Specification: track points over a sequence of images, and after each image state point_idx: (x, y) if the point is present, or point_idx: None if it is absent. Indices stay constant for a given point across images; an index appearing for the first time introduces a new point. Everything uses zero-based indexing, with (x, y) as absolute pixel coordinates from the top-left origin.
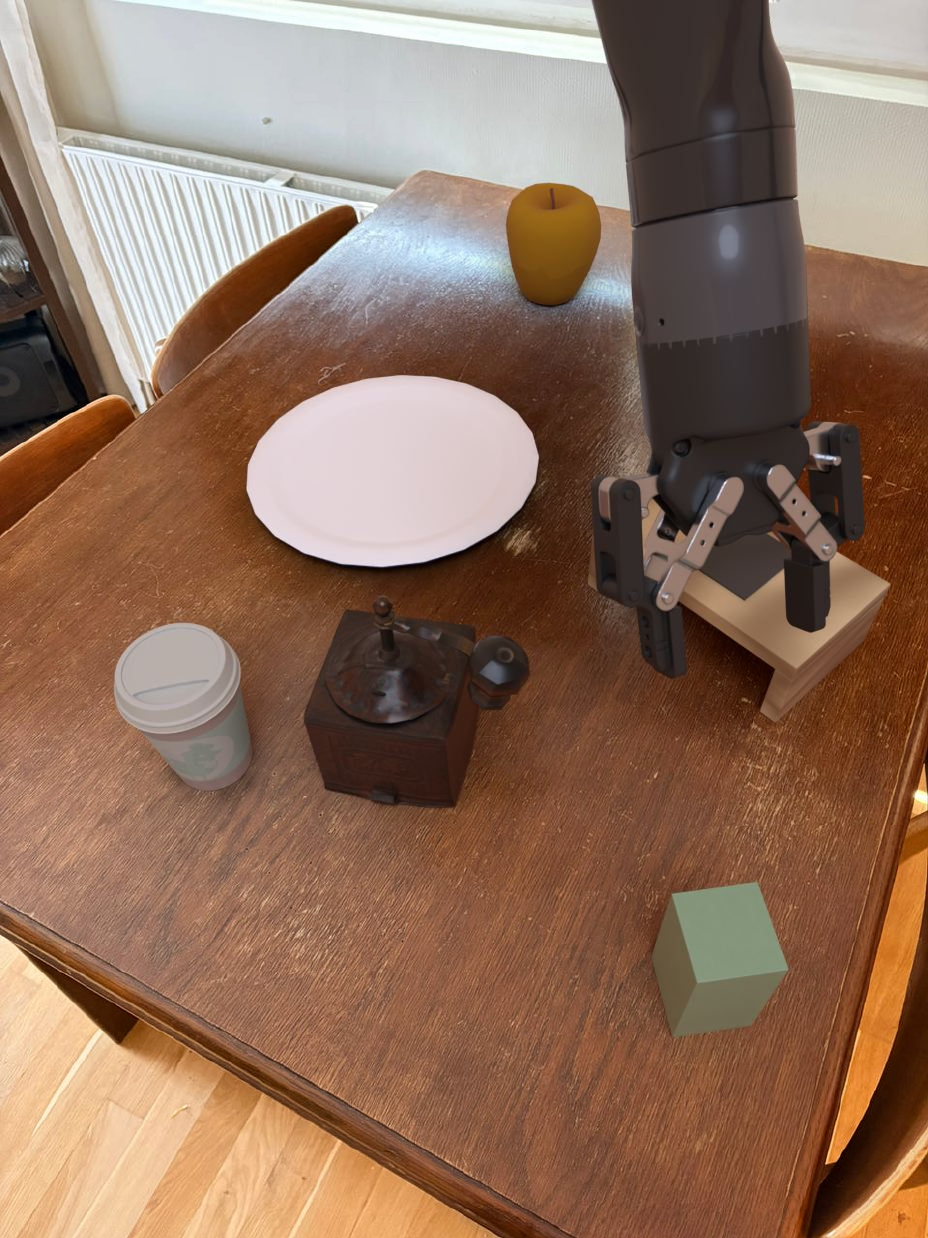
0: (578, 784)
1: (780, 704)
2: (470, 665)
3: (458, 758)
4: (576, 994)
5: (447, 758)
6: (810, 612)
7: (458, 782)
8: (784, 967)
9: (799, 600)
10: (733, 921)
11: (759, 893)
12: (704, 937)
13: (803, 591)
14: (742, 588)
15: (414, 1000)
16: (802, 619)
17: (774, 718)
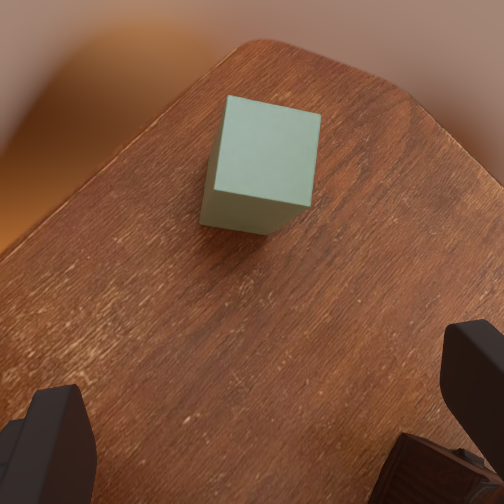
0: (272, 429)
1: None
2: None
3: (417, 477)
4: (340, 225)
5: (461, 464)
6: (66, 429)
7: (401, 456)
8: (230, 98)
9: (73, 480)
10: (259, 158)
11: (218, 176)
12: (296, 152)
13: (62, 496)
14: None
15: (464, 260)
16: (80, 431)
17: None
